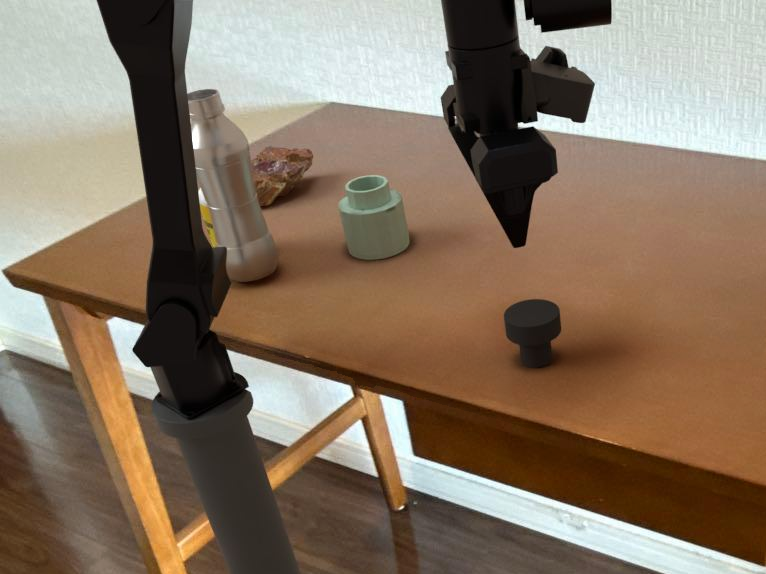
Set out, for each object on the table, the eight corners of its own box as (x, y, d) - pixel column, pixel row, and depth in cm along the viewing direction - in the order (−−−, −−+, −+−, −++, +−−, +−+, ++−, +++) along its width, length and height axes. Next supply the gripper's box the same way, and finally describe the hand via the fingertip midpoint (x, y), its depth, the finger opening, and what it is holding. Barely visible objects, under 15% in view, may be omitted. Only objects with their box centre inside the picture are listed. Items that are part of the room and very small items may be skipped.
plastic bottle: (221, 271, 118) (163, 93, 105) (278, 257, 120) (228, 79, 107) (228, 294, 114) (169, 110, 101) (288, 279, 115) (237, 96, 102)
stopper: (538, 380, 94) (532, 332, 91) (498, 363, 97) (492, 316, 94) (575, 355, 97) (571, 308, 94) (535, 339, 100) (530, 293, 97)
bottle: (375, 265, 116) (361, 201, 111) (336, 250, 120) (321, 188, 115) (422, 241, 119) (411, 178, 115) (382, 227, 123) (370, 166, 119)
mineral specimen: (261, 161, 140) (273, 118, 135) (310, 192, 140) (323, 150, 136) (214, 196, 131) (224, 152, 127) (266, 228, 132) (278, 186, 127)
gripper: (614, 51, 75) (625, 250, 85) (551, -4, 89) (567, 172, 99) (467, 79, 74) (496, 277, 84) (426, 18, 88) (455, 194, 98)
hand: (507, 225), depth 91 cm, fingers open, 9 cm apart
